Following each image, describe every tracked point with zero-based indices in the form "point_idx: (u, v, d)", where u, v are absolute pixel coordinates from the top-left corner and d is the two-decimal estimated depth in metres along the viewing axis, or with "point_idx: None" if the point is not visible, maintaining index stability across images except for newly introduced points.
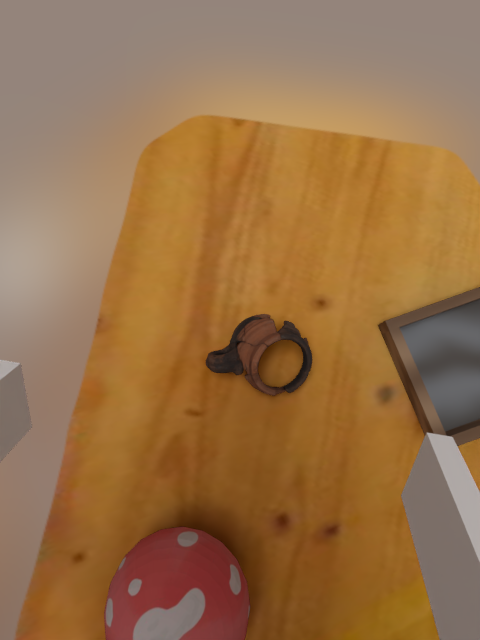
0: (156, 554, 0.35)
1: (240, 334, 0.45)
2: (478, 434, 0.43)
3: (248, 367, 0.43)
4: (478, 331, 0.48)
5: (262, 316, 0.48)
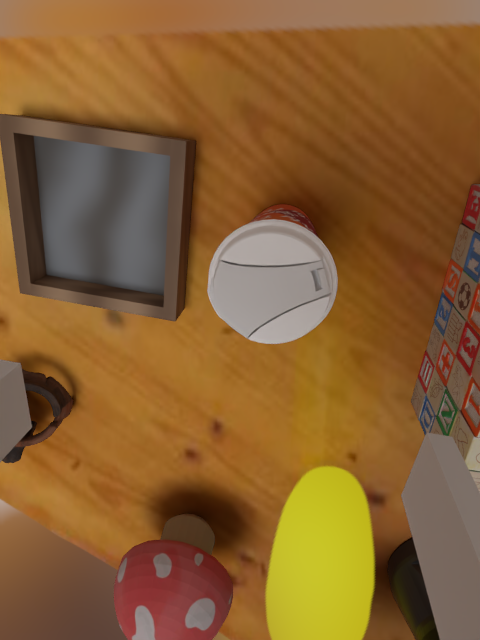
0: (114, 600, 0.42)
1: None
2: (174, 276, 0.35)
3: None
4: (75, 180, 0.35)
5: None
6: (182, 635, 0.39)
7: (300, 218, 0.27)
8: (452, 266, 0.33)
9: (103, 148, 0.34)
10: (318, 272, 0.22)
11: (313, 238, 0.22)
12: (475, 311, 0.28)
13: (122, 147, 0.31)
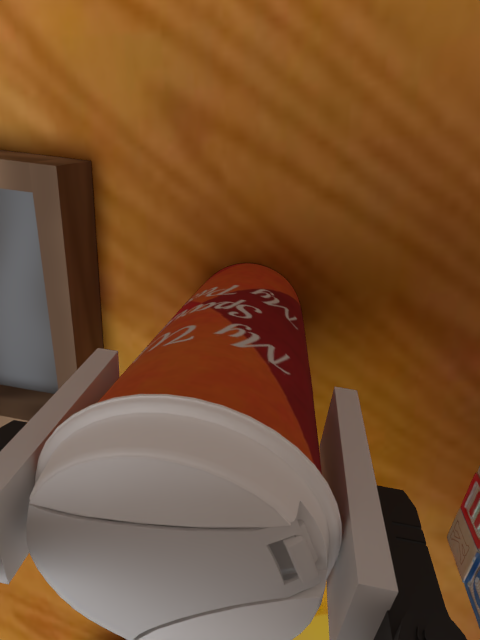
0: None
1: None
2: None
3: None
4: None
5: None
6: None
7: (264, 320, 0.13)
8: None
9: None
10: (287, 548, 0.08)
11: (273, 447, 0.08)
12: None
13: None
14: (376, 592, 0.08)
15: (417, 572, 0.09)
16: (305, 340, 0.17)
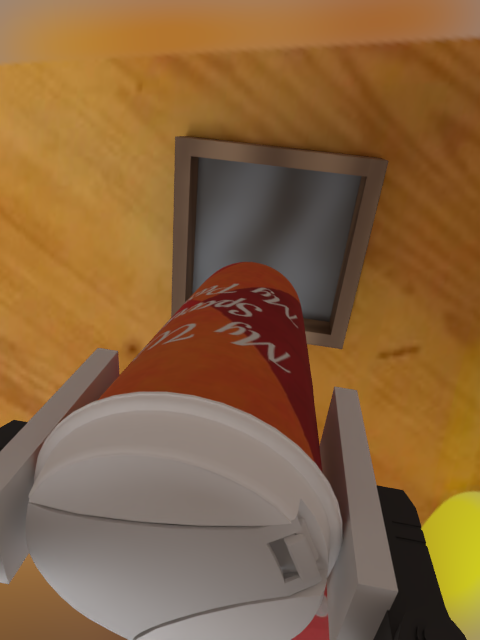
0: None
1: None
2: (348, 302, 0.33)
3: None
4: (238, 203, 0.33)
5: None
6: None
7: (264, 319, 0.13)
8: None
9: (276, 168, 0.31)
10: (288, 546, 0.08)
11: (273, 445, 0.08)
12: None
13: (313, 169, 0.29)
14: (376, 592, 0.08)
15: (417, 572, 0.09)
16: (305, 339, 0.16)
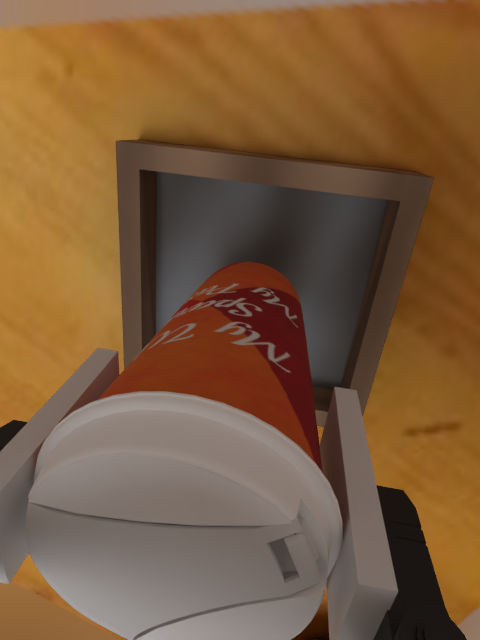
0: None
1: None
2: (368, 373, 0.23)
3: None
4: (214, 233, 0.24)
5: None
6: None
7: (264, 319, 0.13)
8: None
9: (266, 186, 0.22)
10: (288, 546, 0.08)
11: (273, 445, 0.08)
12: None
13: (319, 189, 0.19)
14: (376, 592, 0.08)
15: (417, 572, 0.09)
16: (305, 339, 0.16)
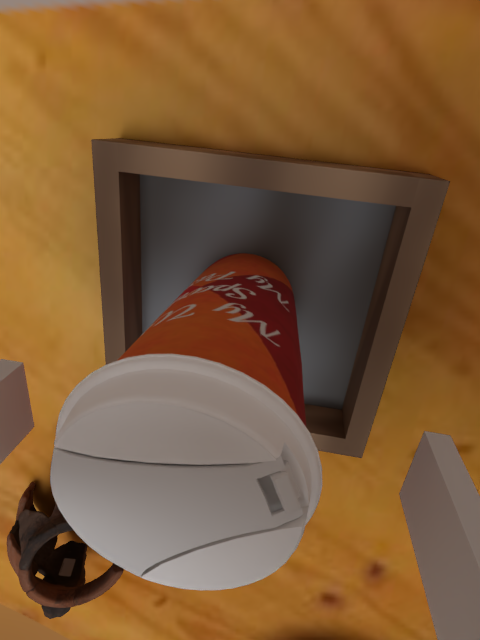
0: None
1: None
2: (374, 395, 0.21)
3: None
4: (204, 241, 0.21)
5: (20, 508, 0.31)
6: None
7: (257, 301, 0.15)
8: None
9: (261, 190, 0.20)
10: (274, 482, 0.09)
11: (262, 398, 0.09)
12: None
13: (320, 194, 0.17)
14: None
15: None
16: (296, 322, 0.18)
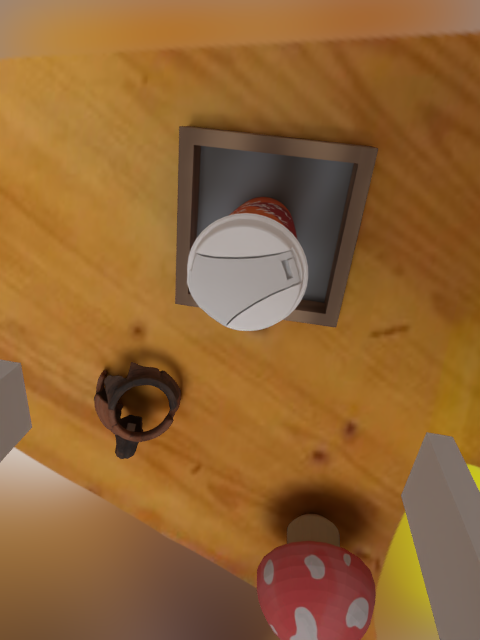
0: (263, 602, 0.43)
1: None
2: (342, 282, 0.35)
3: None
4: (238, 190, 0.35)
5: (99, 384, 0.45)
6: (343, 635, 0.39)
7: (275, 210, 0.29)
8: None
9: (274, 157, 0.33)
10: (288, 262, 0.23)
11: (283, 230, 0.23)
12: None
13: (308, 156, 0.31)
14: None
15: None
16: None
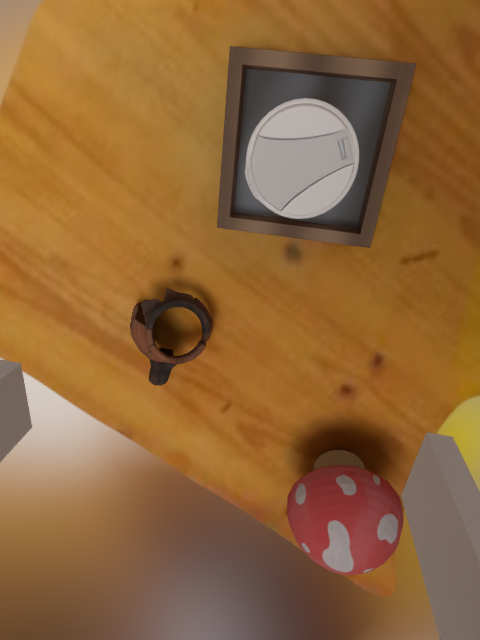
0: (296, 522, 0.44)
1: (140, 349, 0.46)
2: (377, 201, 0.37)
3: None
4: None
5: (134, 313, 0.47)
6: (374, 547, 0.41)
7: None
8: None
9: (315, 80, 0.36)
10: (343, 141, 0.25)
11: (338, 113, 0.25)
12: None
13: (350, 73, 0.33)
14: None
15: None
16: None
